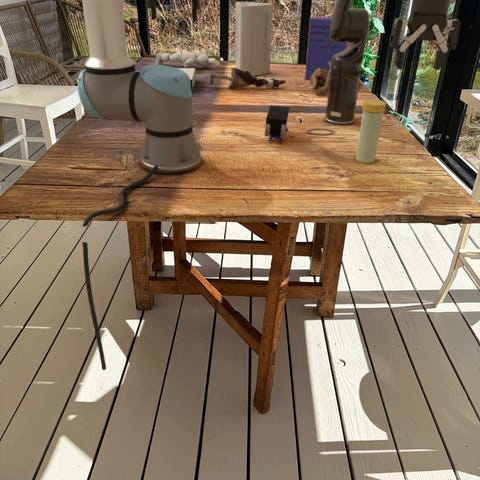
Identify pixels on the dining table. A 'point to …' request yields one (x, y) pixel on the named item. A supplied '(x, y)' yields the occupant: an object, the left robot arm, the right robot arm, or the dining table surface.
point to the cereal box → (321, 46)
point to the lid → (374, 106)
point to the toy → (185, 59)
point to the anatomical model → (321, 80)
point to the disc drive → (190, 75)
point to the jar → (369, 136)
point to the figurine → (246, 79)
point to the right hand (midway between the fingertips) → (417, 69)
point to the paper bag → (253, 37)
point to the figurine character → (276, 122)
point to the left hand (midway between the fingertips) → (174, 20)
